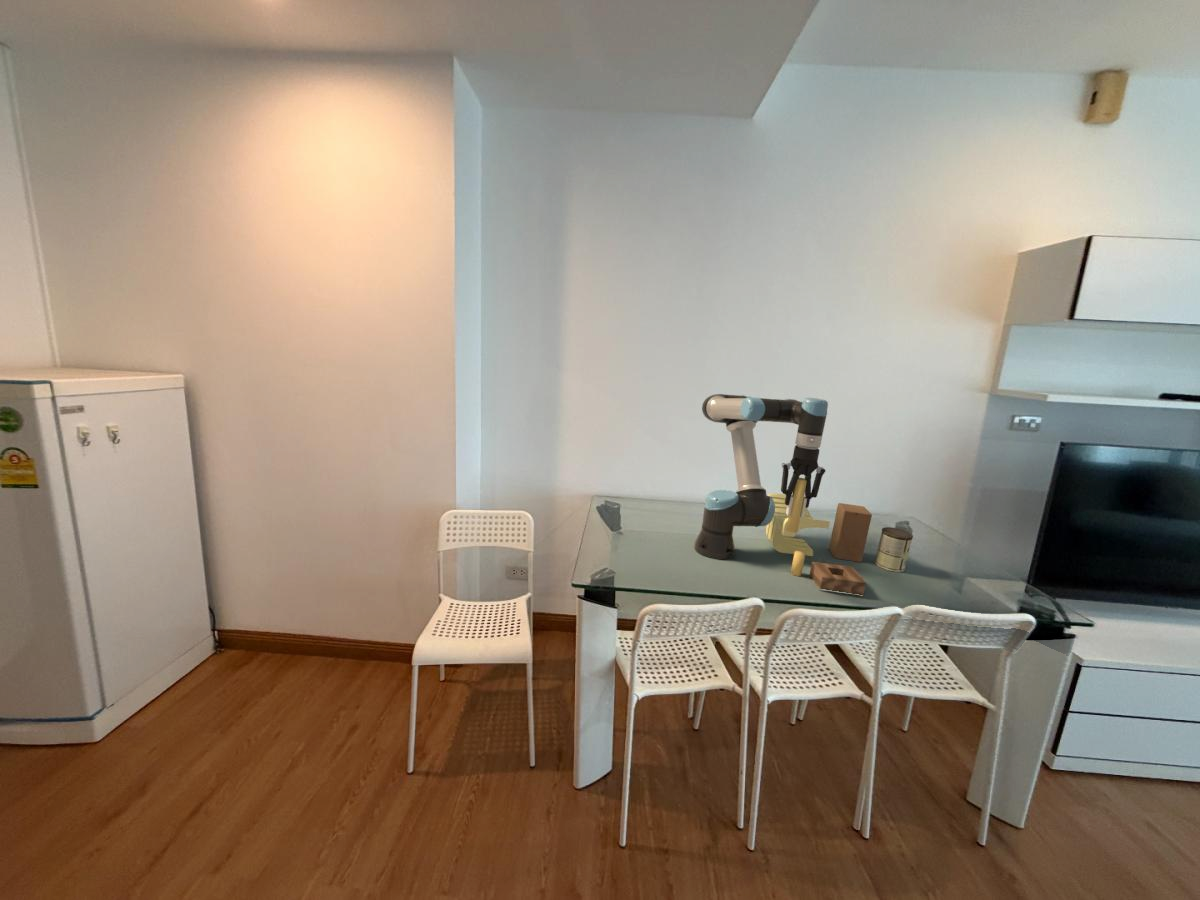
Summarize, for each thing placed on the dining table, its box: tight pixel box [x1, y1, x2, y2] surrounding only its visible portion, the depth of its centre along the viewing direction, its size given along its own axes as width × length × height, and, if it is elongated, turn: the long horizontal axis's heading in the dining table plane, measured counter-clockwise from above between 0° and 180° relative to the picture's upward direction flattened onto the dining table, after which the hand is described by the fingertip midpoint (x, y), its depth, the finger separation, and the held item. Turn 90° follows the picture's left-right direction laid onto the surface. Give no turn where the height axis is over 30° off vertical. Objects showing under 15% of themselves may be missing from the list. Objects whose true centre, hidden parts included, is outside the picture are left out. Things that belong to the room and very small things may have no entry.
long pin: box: [786, 476, 807, 534], centre depth 164 cm, size 4×4×18 cm
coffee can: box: [874, 526, 914, 573], centre depth 191 cm, size 10×10×14 cm
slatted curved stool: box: [765, 492, 831, 557], centre depth 201 cm, size 30×16×18 cm, turn 176°
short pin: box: [790, 551, 806, 577], centre depth 178 cm, size 4×4×8 cm
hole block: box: [809, 561, 867, 596], centre depth 172 cm, size 14×12×5 cm
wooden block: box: [828, 502, 873, 563], centre depth 197 cm, size 10×10×20 cm
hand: (794, 515), depth 165 cm, fingers closed on long pin, 3 cm apart
